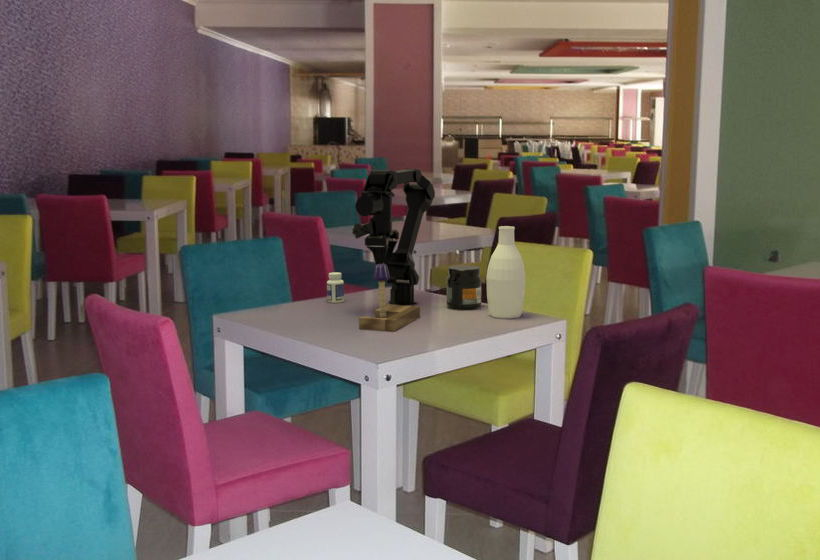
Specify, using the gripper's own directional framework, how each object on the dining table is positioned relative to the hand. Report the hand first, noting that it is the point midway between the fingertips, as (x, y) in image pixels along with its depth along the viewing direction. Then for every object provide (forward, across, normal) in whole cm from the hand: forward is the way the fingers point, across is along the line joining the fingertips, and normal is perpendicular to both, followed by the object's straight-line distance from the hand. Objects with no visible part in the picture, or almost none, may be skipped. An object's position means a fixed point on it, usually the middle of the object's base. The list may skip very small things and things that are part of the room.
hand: (382, 267), depth 270 cm
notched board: (+13, +16, +6) cm, 22 cm away
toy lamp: (+13, +20, +4) cm, 24 cm away
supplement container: (+13, -10, +23) cm, 28 cm away
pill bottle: (+13, -12, -18) cm, 25 cm away
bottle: (+13, +1, +36) cm, 38 cm away
